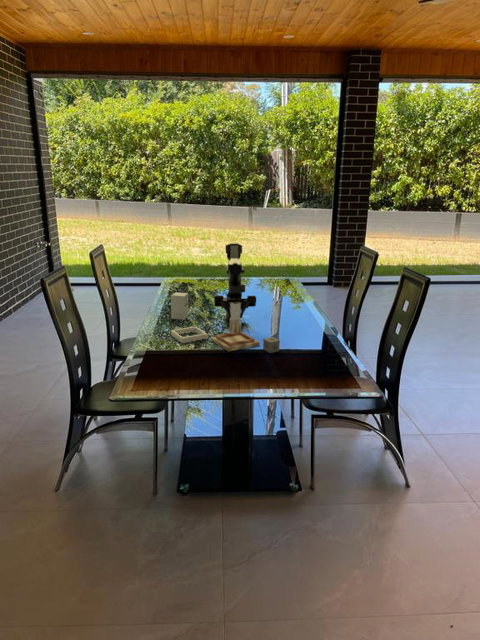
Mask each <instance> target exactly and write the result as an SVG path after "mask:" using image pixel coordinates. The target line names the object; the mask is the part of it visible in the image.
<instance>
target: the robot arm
mask: <svg viewBox="0 0 480 640" xmlns="http://www.w3.org/2000/svg"><path fill="white" fill-rule="evenodd" d="M225 254H226V258H227V260H228V261H227V265H226V274H227V276H228V293H227V294H226V297H224V295H214V296H213V297H214V298H213V299H214V300H213V301H214V307H217V308H218V307H221V308H222V309H224V310H225V321H227V322H229V323H230V302H234V301H237V302H241V322H242V320H243V316H244V314H245V311H246V310H247V309H249V307H250V308H251V307H254V308H255V307H256V304H257V296H256V295H247V296H246V298H242V296H243V293H246V284H242V276H243V275H242V274H244V273H245V268H244V266H243V265H242V261H241V260H240V259H241V256H242V255H241V254H243V245H241V244H240V243H238V242H230V243H228V244H226V245H225Z"/></svg>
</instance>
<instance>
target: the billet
mask: <svg viewBox="0 0 480 640" xmlns="http://www.w3.org/2000/svg"><path fill="white" fill-rule="evenodd" d="M241 320H242V318H241V302H237V301H234V302H230V322H229V333H237V332H240V331H241V332H242V330H241V329H242V321H241Z"/></svg>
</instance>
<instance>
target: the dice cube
mask: <svg viewBox="0 0 480 640" xmlns="http://www.w3.org/2000/svg"><path fill="white" fill-rule="evenodd" d="M262 344H263V345H262V348H263V351H265V352H267V353H269V354H271V353H272V354H273V353H277V352H280V339H278V338H275V337H273V336H271V337H266V338H263V342H262Z"/></svg>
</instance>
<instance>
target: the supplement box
mask: <svg viewBox="0 0 480 640" xmlns="http://www.w3.org/2000/svg"><path fill="white" fill-rule="evenodd" d="M170 309H171V310H170V312H171V318H170V319H172V320H181V319H182V321H183V320H184V321H185V320H186V318H188V317H189V293H188V292H174V293H172V294H171V295H170ZM187 316H188V317H187Z"/></svg>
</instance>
